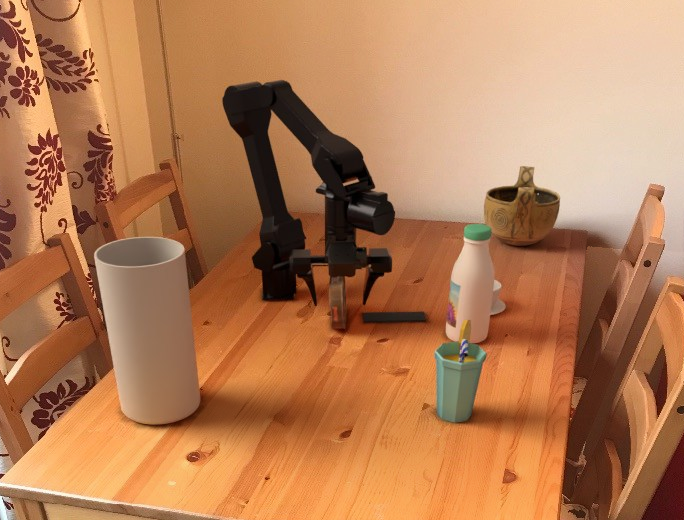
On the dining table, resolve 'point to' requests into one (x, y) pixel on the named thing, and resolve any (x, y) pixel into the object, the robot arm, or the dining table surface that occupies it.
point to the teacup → (496, 303)
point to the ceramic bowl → (521, 210)
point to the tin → (337, 302)
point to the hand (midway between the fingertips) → (339, 305)
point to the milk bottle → (471, 285)
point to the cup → (458, 376)
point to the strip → (393, 317)
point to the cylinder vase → (149, 327)
